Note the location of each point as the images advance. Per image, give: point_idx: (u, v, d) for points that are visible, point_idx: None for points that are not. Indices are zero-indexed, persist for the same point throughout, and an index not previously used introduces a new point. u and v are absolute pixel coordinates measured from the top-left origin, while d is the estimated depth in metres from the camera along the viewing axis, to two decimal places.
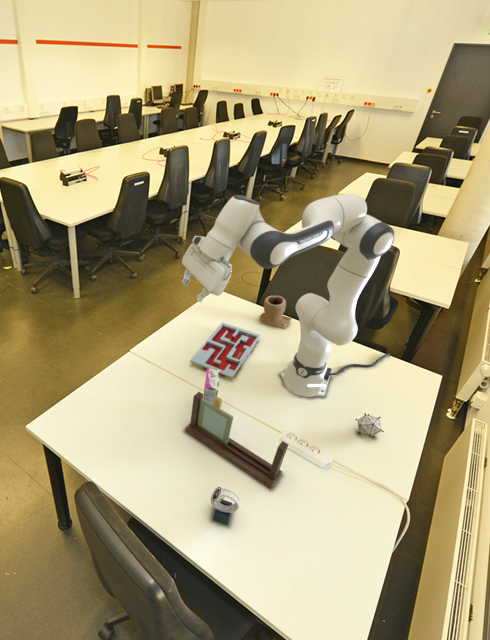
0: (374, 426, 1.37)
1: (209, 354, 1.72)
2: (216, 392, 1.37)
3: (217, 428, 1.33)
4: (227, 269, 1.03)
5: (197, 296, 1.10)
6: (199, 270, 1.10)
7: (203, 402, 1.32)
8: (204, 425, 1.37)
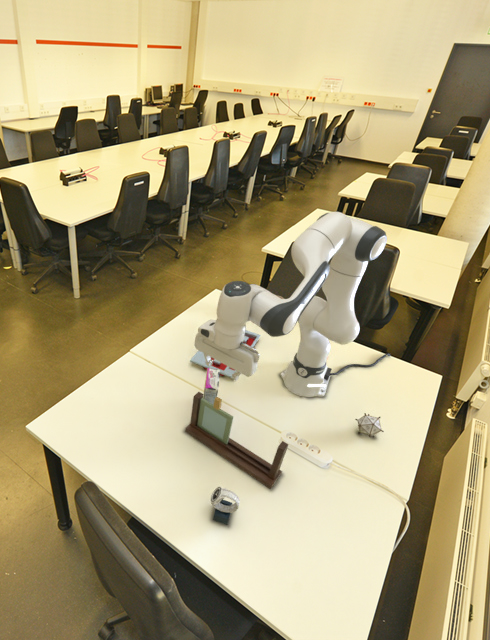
0: (374, 426, 1.37)
1: None
2: (216, 392, 1.37)
3: (217, 428, 1.33)
4: (254, 354, 1.08)
5: (233, 377, 1.16)
6: (223, 357, 1.15)
7: (203, 402, 1.32)
8: (204, 425, 1.37)
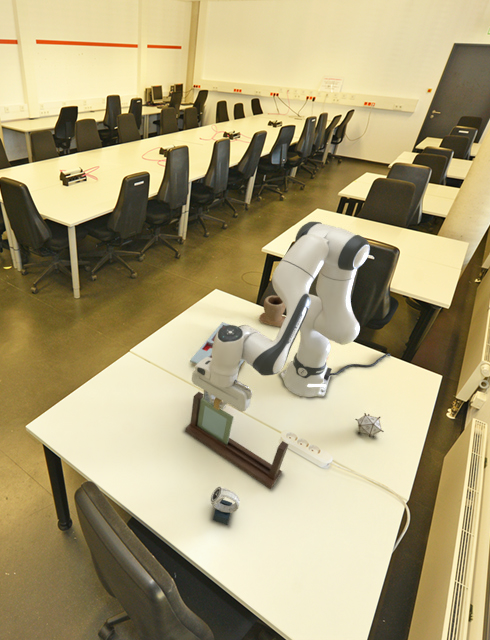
0: (374, 426, 1.37)
1: (209, 354, 1.72)
2: None
3: (217, 428, 1.33)
4: (247, 391, 1.16)
5: (221, 406, 1.26)
6: (218, 393, 1.23)
7: (203, 402, 1.32)
8: (204, 425, 1.37)
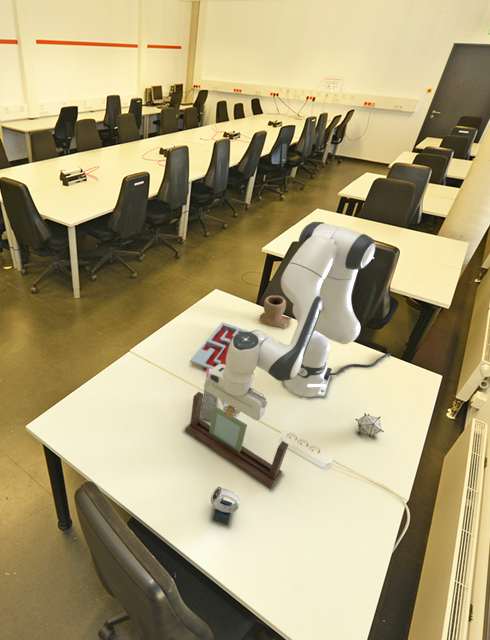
0: (374, 426, 1.37)
1: (209, 354, 1.72)
2: None
3: (230, 436, 1.30)
4: (262, 400, 1.13)
5: (234, 414, 1.23)
6: (232, 401, 1.20)
7: (215, 410, 1.29)
8: (216, 433, 1.35)
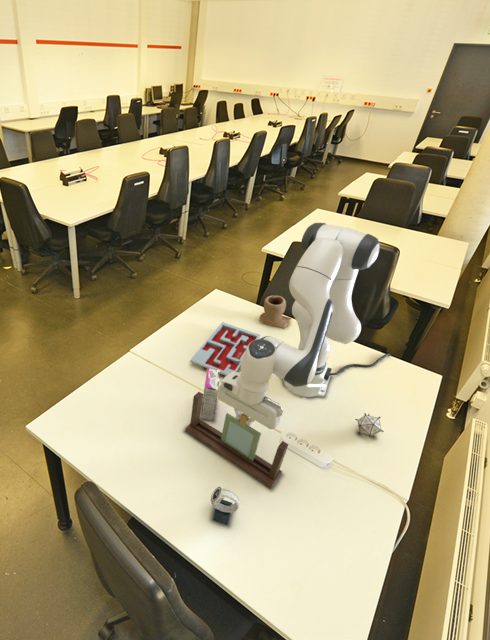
0: (374, 426, 1.37)
1: (209, 354, 1.72)
2: (216, 392, 1.37)
3: (242, 444, 1.28)
4: (277, 409, 1.11)
5: (248, 423, 1.21)
6: (246, 409, 1.18)
7: (228, 417, 1.27)
8: (228, 440, 1.32)
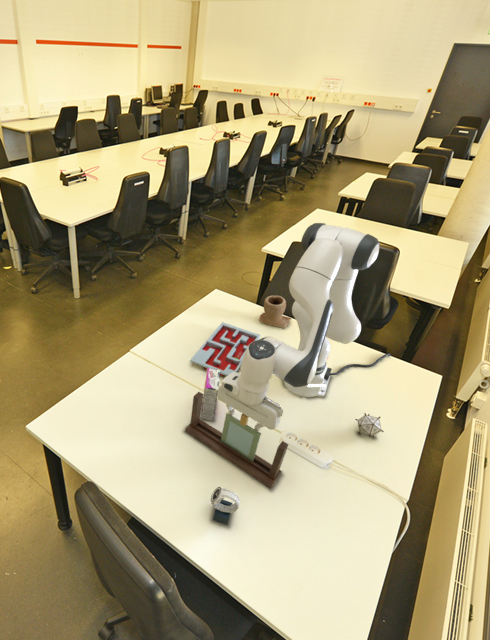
0: (374, 426, 1.37)
1: (209, 354, 1.72)
2: (216, 392, 1.37)
3: (243, 444, 1.28)
4: (277, 409, 1.11)
5: (256, 428, 1.19)
6: (246, 410, 1.18)
7: (228, 417, 1.27)
8: (228, 441, 1.32)
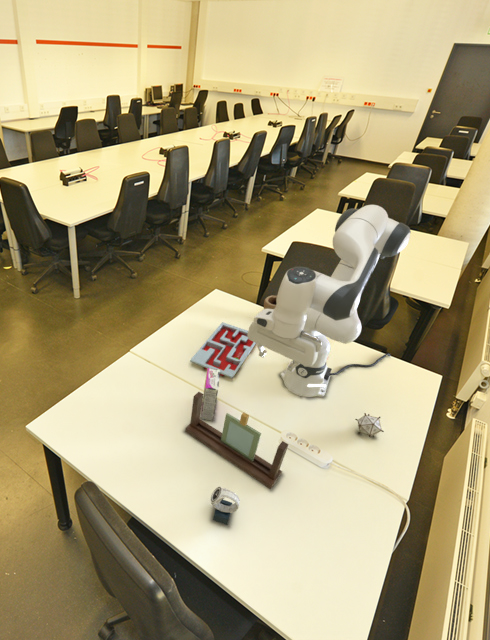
0: (374, 426, 1.37)
1: (209, 354, 1.72)
2: (216, 392, 1.37)
3: (243, 444, 1.28)
4: (316, 343, 1.04)
5: (291, 368, 1.12)
6: (280, 347, 1.10)
7: (228, 417, 1.27)
8: (228, 441, 1.32)
